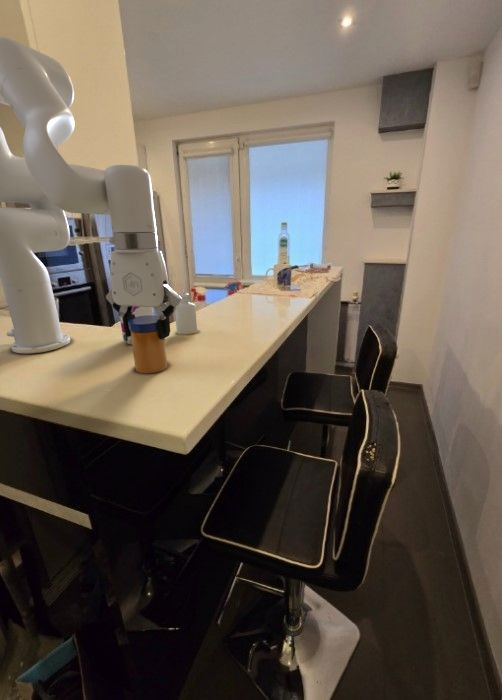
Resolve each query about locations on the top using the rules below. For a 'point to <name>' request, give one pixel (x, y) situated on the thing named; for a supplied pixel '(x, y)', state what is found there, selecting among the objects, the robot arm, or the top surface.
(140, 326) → the lid
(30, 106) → the robot arm
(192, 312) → the eye dropper bottle
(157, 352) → the jar
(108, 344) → the top surface
